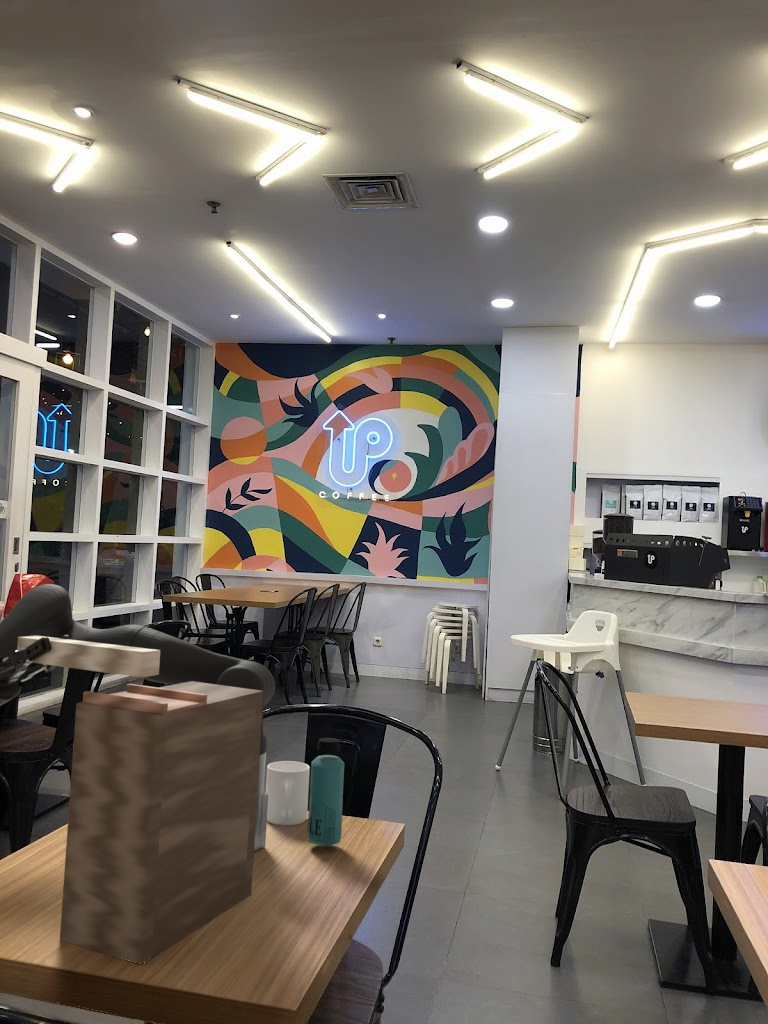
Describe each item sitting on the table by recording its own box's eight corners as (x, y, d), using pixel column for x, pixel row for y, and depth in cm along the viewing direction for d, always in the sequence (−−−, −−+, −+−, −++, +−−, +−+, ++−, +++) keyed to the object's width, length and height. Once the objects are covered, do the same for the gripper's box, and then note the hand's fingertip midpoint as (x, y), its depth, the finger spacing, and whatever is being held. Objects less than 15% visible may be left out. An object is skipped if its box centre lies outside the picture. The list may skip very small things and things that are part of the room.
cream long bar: (16, 660, 126) (17, 637, 126) (34, 658, 129) (36, 635, 130) (142, 677, 117) (144, 652, 117) (158, 674, 120) (160, 650, 120)
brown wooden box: (59, 939, 114) (77, 693, 116) (179, 876, 138) (192, 672, 139) (141, 965, 108) (158, 705, 110) (251, 894, 132) (263, 681, 134)
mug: (263, 832, 162) (266, 775, 162) (264, 812, 174) (267, 760, 174) (307, 832, 163) (310, 776, 163) (306, 813, 175) (309, 761, 175)
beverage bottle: (346, 845, 157) (352, 737, 158) (332, 856, 150) (338, 744, 151) (314, 839, 159) (320, 733, 160) (299, 850, 153) (306, 740, 154)
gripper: (-64, 671, 126) (13, 621, 120) (12, 661, 138) (85, 616, 133) (-50, 717, 124) (29, 669, 118) (26, 704, 137) (100, 660, 131)
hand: (58, 642), depth 125 cm, fingers closed on cream long bar, 3 cm apart
